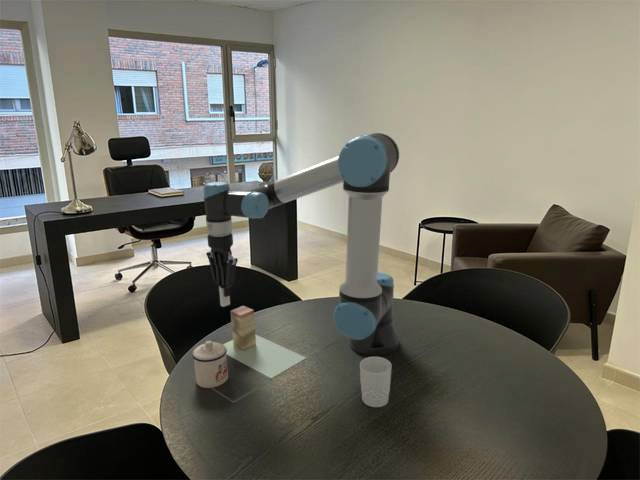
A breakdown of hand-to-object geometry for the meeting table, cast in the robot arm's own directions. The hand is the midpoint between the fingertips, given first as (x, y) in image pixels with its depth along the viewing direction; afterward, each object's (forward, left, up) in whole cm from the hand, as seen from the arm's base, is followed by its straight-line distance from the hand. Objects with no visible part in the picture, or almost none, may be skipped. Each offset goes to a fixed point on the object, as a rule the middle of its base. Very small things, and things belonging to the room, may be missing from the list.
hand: (225, 304), depth 147 cm
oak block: (-8, 0, -12) cm, 14 cm away
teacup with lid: (-15, +16, -12) cm, 25 cm away
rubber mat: (-15, 0, -12) cm, 19 cm away
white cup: (-55, -4, -12) cm, 57 cm away
